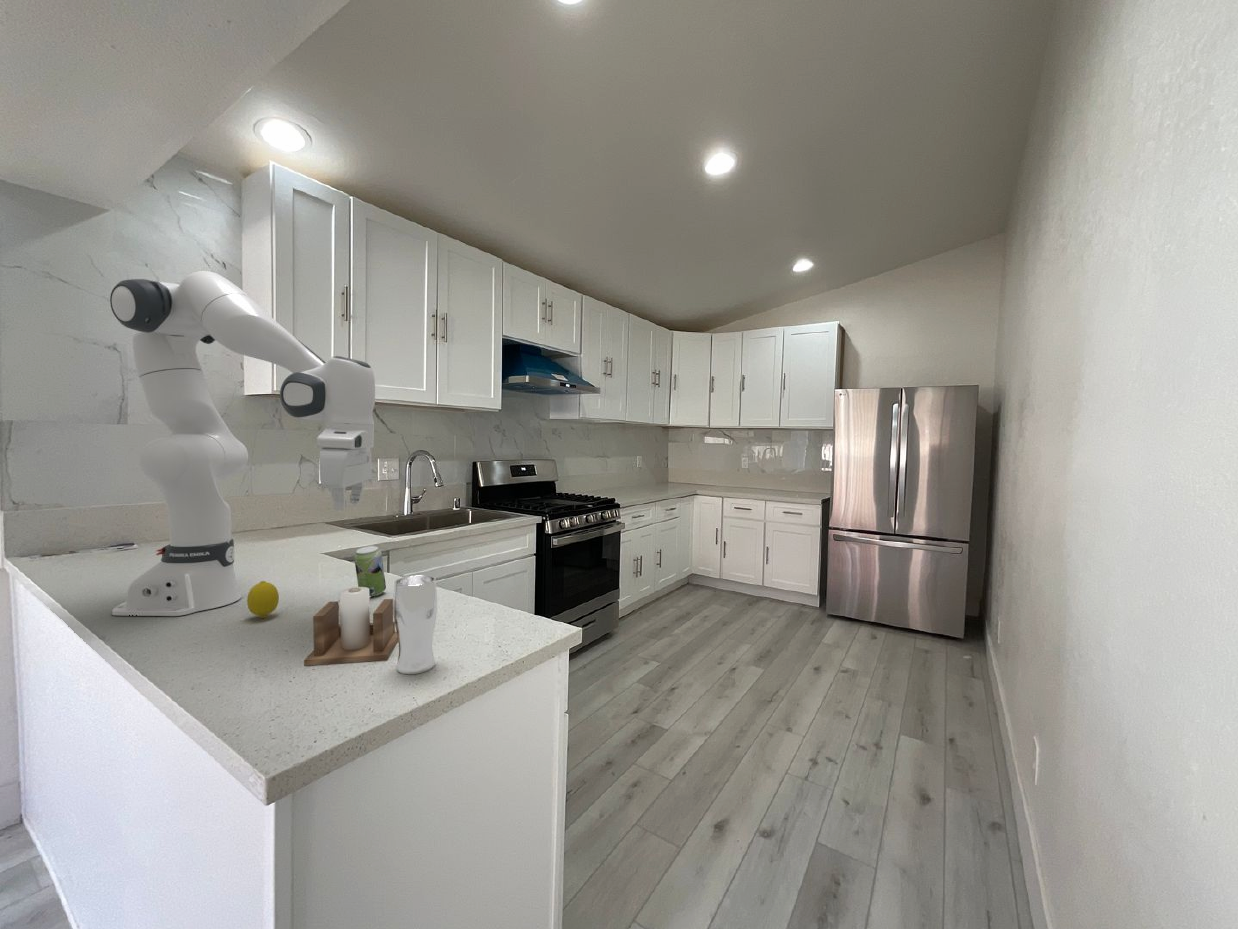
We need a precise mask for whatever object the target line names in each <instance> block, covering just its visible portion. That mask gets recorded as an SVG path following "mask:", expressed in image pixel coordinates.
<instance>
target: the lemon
mask: <svg viewBox="0 0 1238 929" xmlns="http://www.w3.org/2000/svg"><path fill="white" fill-rule="evenodd" d="M279 597H280V596H279V591H278V589H277V587H276V586H275V585H274V584H272V583H271V582H268V581H266V580H262V581H261V580H260V582H259V583H256V584H254V585H253V586H252V587H251V589H250V590H249V592H248V595H247V598H246V599H247V600H246V601H247V603H246V604H247V607H248V608H247V609H248V610H249V611H250V613H251V614H253V615H255V616H257V617H260V618H262V619H265V618H266V617H267V616H268V615H270V614H271V613H273V612H274V611H275V610H276V609H277V607H278V604H279V599H280V598H279Z"/></svg>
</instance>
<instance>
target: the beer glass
mask: <svg viewBox="0 0 1238 929" xmlns="http://www.w3.org/2000/svg"><path fill="white" fill-rule="evenodd" d="M393 584H394V588H393V589H394V590H393V598H392V599H393V622H395V632H397V636H398V642H397V643H398V657H397V663H396V671H397V672H398V673H400V674H402V675H418V674H422V673H425V672H428V671H430V670H431V669H433V668H434V667H435V665H436V660H435V655H434V650H433V637H434V632H435V627H436V621H437V614H438V613H437V612H438V591H437V578H436V577H435V576H433V575H429V574H427V575H426V574H417V575H408V576H404V577H400V578H397V579H396V580H394V583H393Z"/></svg>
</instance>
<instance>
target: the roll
mask: <svg viewBox="0 0 1238 929" xmlns="http://www.w3.org/2000/svg"><path fill="white" fill-rule="evenodd" d="M370 605H371V604H370V597H369V588H367V587H358V586H353V587H349V588H345V589H341V590H340V591H339V625H340V627H341V648H342V649H345V650H355V649H360V648H363V647H366V646H368V645H369V644H370V623H371V617H370V616H371V615H370V614H371V612H370V609H371V608H370V607H371V606H370Z"/></svg>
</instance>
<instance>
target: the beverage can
mask: <svg viewBox="0 0 1238 929" xmlns="http://www.w3.org/2000/svg"><path fill="white" fill-rule="evenodd" d="M353 558H354V566H355V573H356V580H357V587H367V588H369V596H374V597H376V596H375V595H377V596H380V595H381V594H383V592H384V591H385V590H386V589H387V585H386V578H385V577H386V576H385V570H384V562H383V554H382V550H381V549H379V546H376V545H367V546H363V547H362V546H361V547H360V548H358V549H356V551H355V554H354V557H353Z"/></svg>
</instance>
